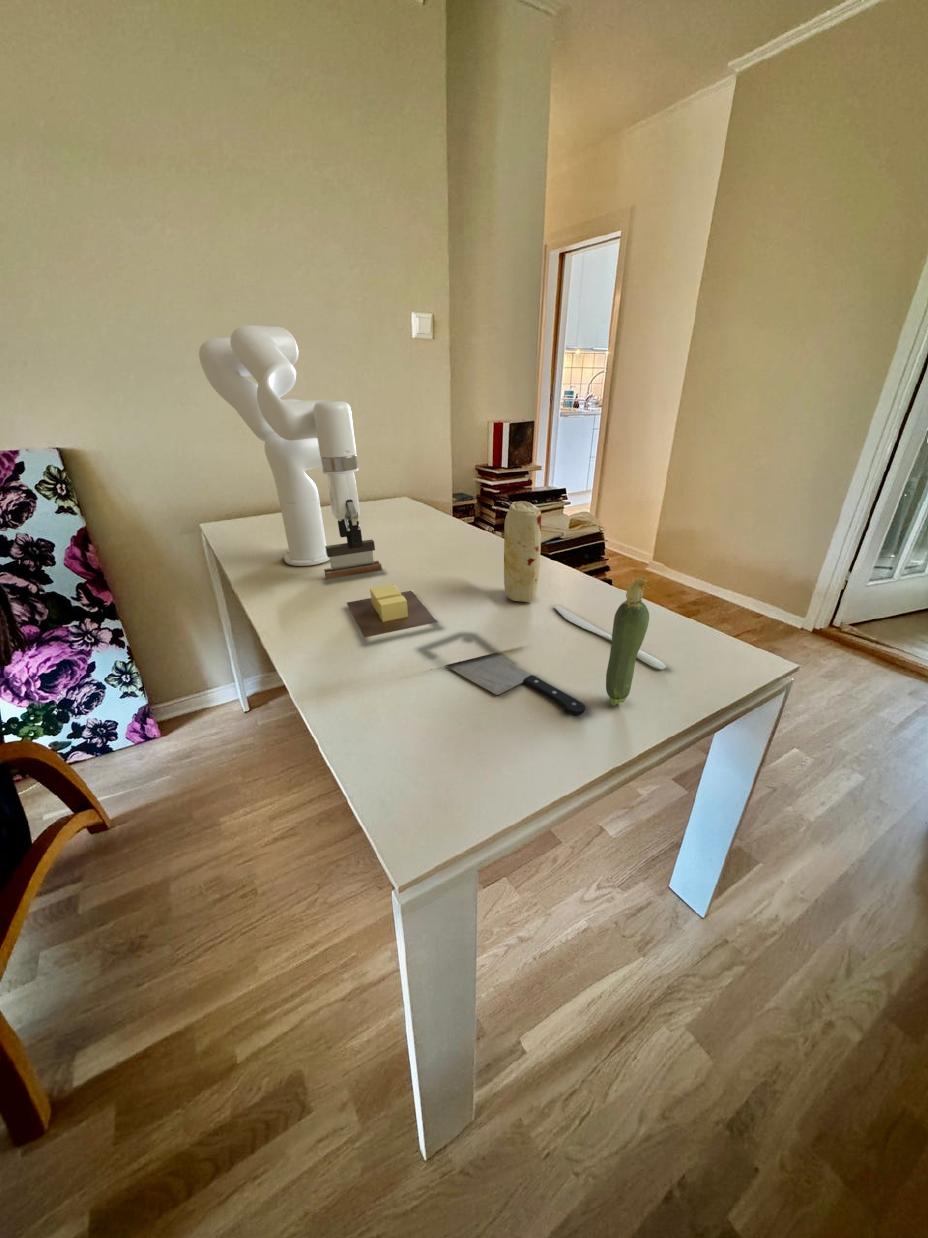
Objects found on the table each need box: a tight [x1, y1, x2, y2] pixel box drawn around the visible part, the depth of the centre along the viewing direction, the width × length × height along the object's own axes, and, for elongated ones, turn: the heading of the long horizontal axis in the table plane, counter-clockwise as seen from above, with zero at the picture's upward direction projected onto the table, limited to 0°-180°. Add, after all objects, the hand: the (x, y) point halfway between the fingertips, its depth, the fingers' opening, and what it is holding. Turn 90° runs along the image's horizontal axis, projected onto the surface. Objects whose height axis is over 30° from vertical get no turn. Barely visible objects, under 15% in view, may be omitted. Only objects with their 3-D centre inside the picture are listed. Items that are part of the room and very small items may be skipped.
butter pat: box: [378, 596, 408, 622], centre depth 91 cm, size 2×5×4 cm, turn 114°
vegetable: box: [605, 576, 650, 706], centre depth 65 cm, size 4×4×20 cm
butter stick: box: [369, 583, 401, 614], centre depth 95 cm, size 5×5×4 cm
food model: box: [503, 500, 542, 603], centre depth 98 cm, size 10×7×20 cm
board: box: [346, 590, 438, 638], centre depth 94 cm, size 16×14×2 cm
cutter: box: [325, 539, 376, 571], centre depth 113 cm, size 2×11×8 cm, turn 113°
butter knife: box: [554, 605, 667, 670], centre depth 87 cm, size 1×27×3 cm
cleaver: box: [445, 652, 586, 715], centre depth 76 cm, size 29×1×10 cm
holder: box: [323, 560, 383, 580], centre depth 114 cm, size 3×13×2 cm, turn 114°
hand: (351, 541), depth 110 cm, fingers open, 9 cm apart
